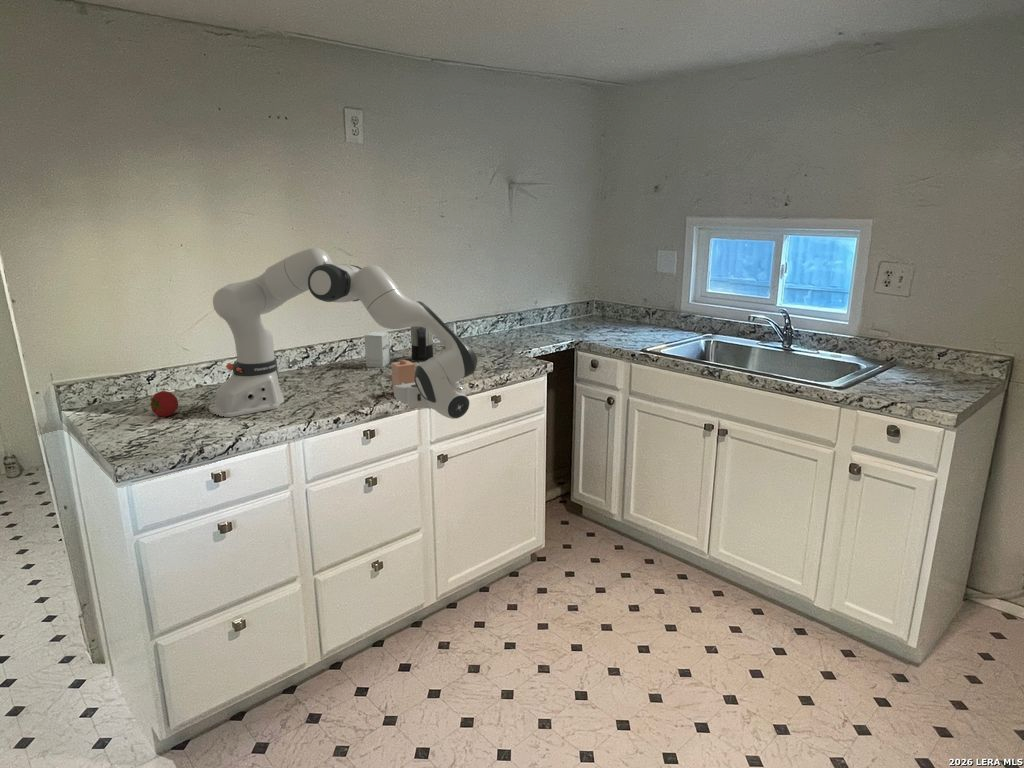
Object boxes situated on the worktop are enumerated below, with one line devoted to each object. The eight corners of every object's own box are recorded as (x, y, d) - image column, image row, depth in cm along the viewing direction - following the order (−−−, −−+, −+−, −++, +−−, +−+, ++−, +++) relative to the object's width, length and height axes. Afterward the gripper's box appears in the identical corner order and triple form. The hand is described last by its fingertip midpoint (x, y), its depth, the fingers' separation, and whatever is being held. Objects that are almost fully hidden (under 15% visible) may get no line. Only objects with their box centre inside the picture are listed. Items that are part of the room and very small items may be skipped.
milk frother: (408, 357, 269) (406, 322, 265) (444, 353, 275) (443, 319, 271) (419, 365, 256) (417, 328, 252) (456, 361, 263) (455, 325, 259)
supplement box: (383, 367, 253) (381, 335, 249) (365, 366, 254) (363, 335, 251) (390, 363, 260) (388, 332, 256) (373, 362, 261) (371, 331, 258)
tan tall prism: (399, 399, 214) (398, 363, 210) (393, 394, 218) (391, 359, 215) (416, 396, 217) (414, 361, 213) (409, 392, 221) (407, 357, 218)
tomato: (174, 385, 199) (149, 386, 192) (186, 403, 196) (161, 405, 190) (164, 402, 202) (139, 404, 196) (175, 421, 200) (150, 424, 193)
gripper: (466, 378, 199) (446, 368, 211) (403, 388, 189) (386, 377, 201) (467, 398, 201) (447, 387, 212) (404, 409, 191) (387, 397, 202)
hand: (417, 382), depth 206 cm, fingers open, 8 cm apart
